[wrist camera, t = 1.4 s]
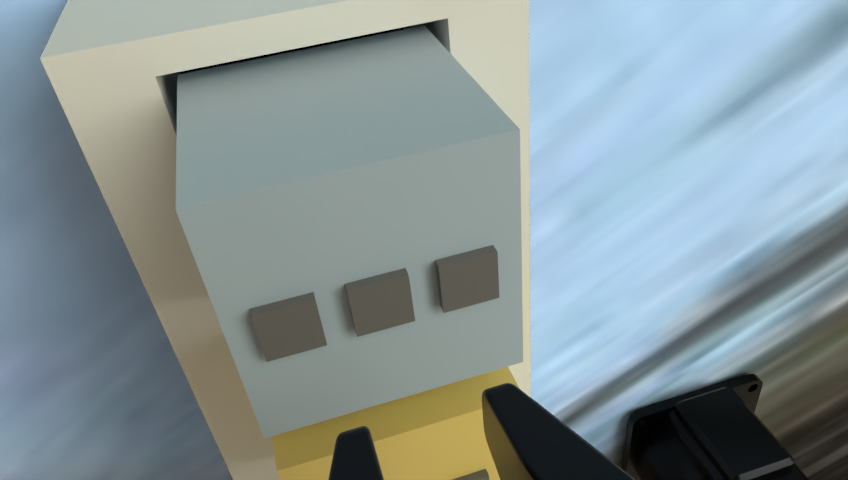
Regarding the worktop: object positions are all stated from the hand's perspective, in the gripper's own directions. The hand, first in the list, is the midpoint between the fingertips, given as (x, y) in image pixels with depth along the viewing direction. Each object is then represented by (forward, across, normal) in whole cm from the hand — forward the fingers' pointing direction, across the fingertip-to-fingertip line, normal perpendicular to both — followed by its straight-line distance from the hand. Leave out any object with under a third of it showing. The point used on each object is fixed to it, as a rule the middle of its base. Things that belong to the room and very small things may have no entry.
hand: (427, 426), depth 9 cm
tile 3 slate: (+8, 0, 0) cm, 8 cm away
